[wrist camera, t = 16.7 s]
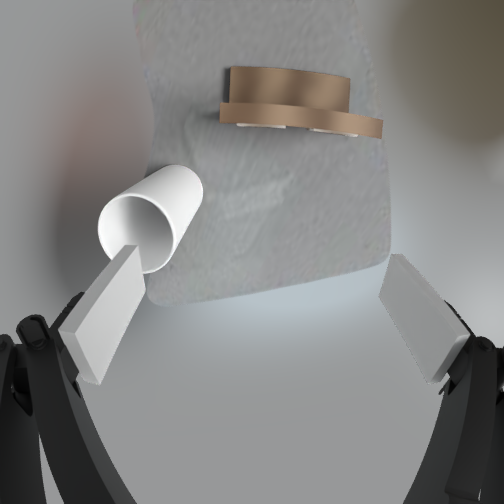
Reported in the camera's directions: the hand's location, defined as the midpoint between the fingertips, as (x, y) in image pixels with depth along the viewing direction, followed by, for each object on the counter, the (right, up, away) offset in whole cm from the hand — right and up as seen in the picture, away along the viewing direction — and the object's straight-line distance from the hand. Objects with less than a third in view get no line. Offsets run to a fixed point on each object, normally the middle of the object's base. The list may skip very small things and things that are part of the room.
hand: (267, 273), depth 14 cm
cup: (-12, +10, +25) cm, 29 cm away
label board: (+4, +21, +19) cm, 29 cm away
